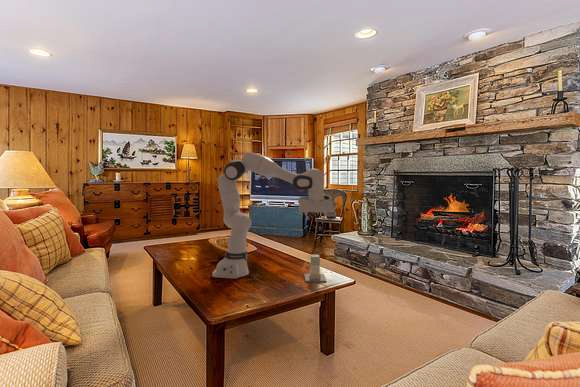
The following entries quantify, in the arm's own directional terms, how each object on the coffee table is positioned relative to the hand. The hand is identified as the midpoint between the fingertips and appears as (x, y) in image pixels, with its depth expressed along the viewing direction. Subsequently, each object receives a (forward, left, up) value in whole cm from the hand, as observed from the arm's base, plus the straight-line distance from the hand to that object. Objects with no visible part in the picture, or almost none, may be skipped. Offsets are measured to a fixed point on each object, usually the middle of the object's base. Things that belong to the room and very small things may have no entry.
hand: (315, 219), depth 182 cm
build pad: (0, 0, -36) cm, 36 cm away
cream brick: (0, 0, -32) cm, 32 cm away
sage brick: (0, 0, -27) cm, 27 cm away
